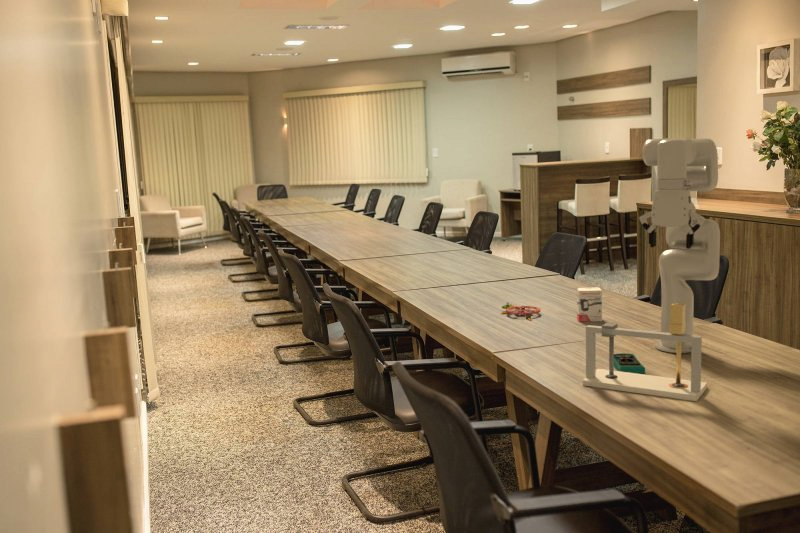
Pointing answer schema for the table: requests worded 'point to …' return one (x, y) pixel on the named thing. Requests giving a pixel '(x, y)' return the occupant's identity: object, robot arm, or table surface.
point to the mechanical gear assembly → (520, 310)
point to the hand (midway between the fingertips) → (670, 247)
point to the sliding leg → (677, 332)
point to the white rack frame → (640, 381)
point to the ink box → (589, 304)
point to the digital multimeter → (628, 363)
